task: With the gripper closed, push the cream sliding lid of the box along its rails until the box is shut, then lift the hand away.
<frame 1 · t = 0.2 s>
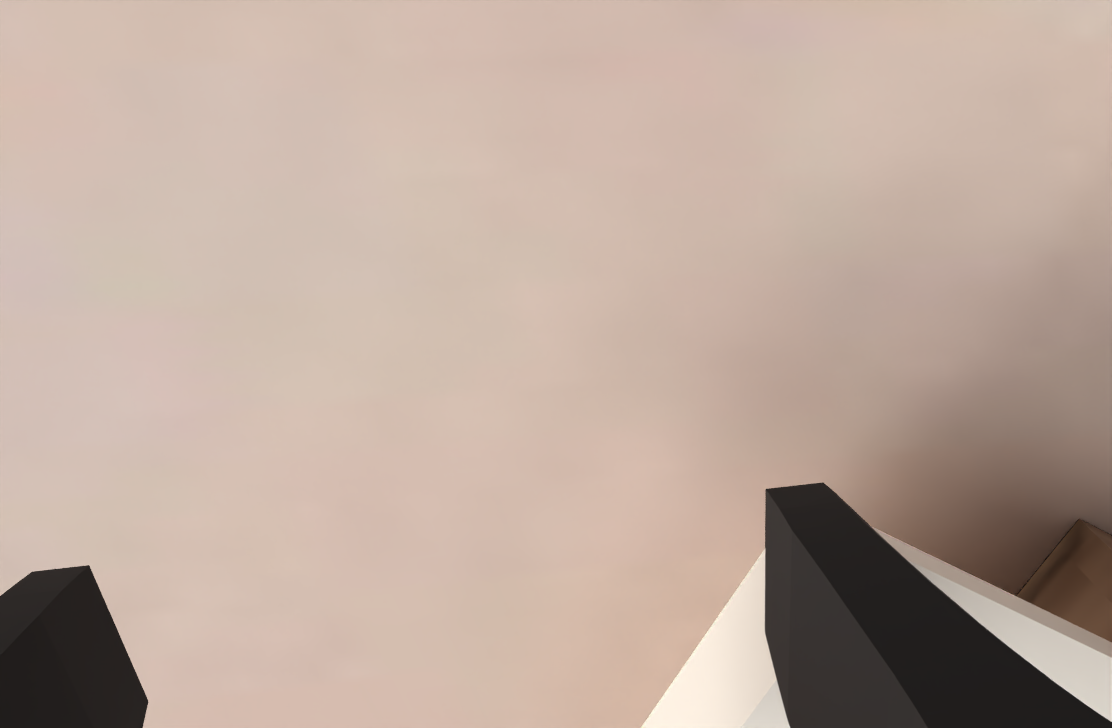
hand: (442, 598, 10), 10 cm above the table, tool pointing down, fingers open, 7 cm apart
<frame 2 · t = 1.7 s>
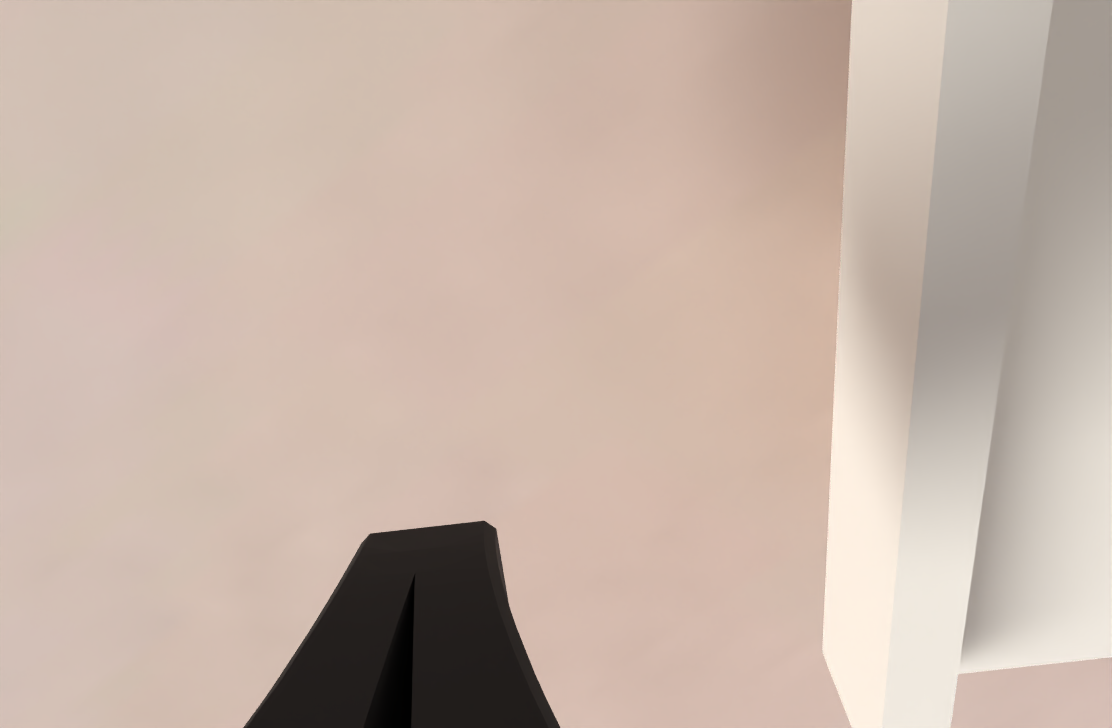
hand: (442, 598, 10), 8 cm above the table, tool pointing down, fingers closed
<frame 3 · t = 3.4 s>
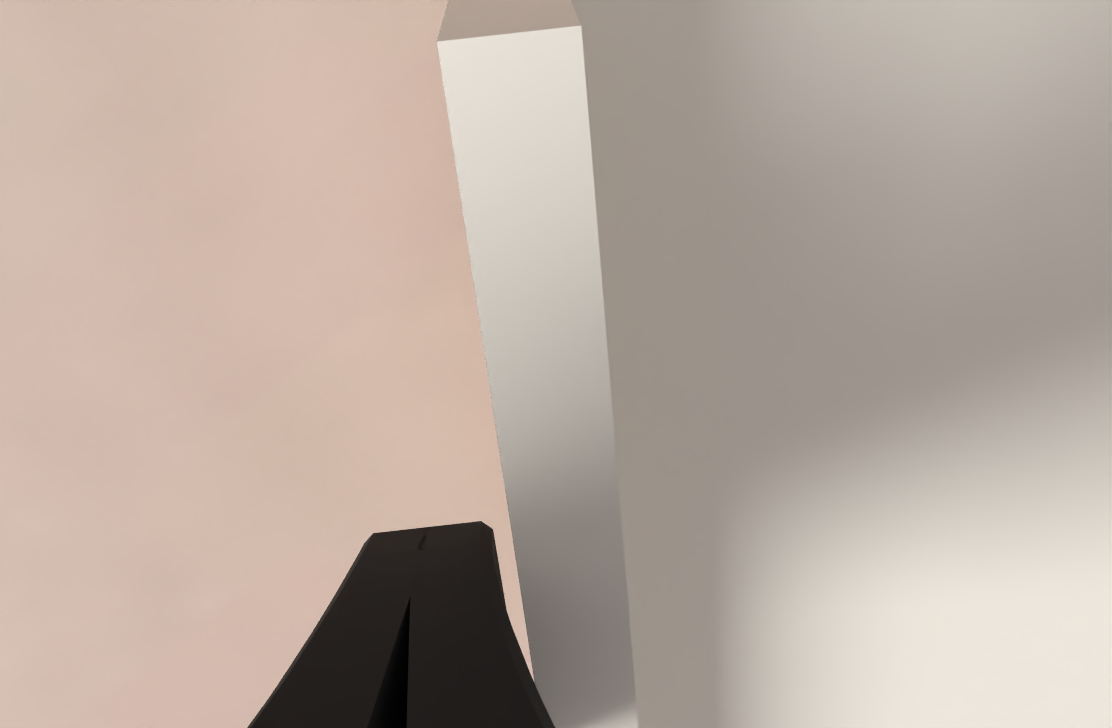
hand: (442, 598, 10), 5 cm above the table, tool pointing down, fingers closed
lid: (1019, 509, 11), point 5 cm above the table, slide at 6.9 cm, touching gripper
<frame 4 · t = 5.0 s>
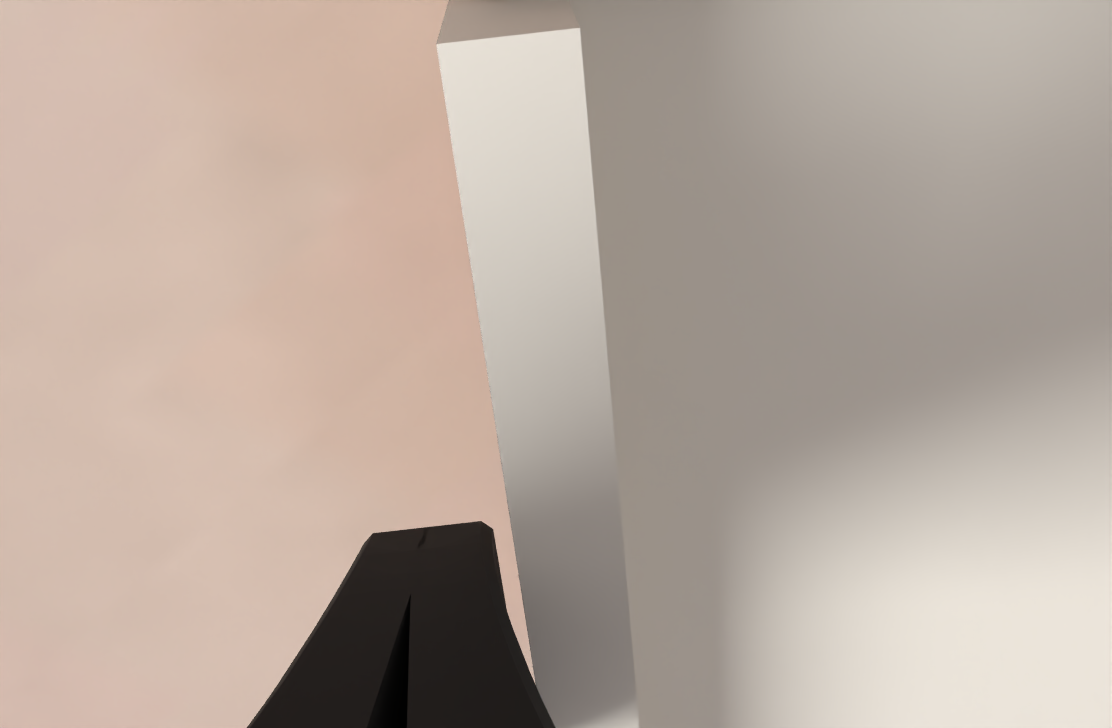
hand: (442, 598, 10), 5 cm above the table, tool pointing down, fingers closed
lid: (1019, 509, 11), point 5 cm above the table, slide at 0.3 cm, touching gripper
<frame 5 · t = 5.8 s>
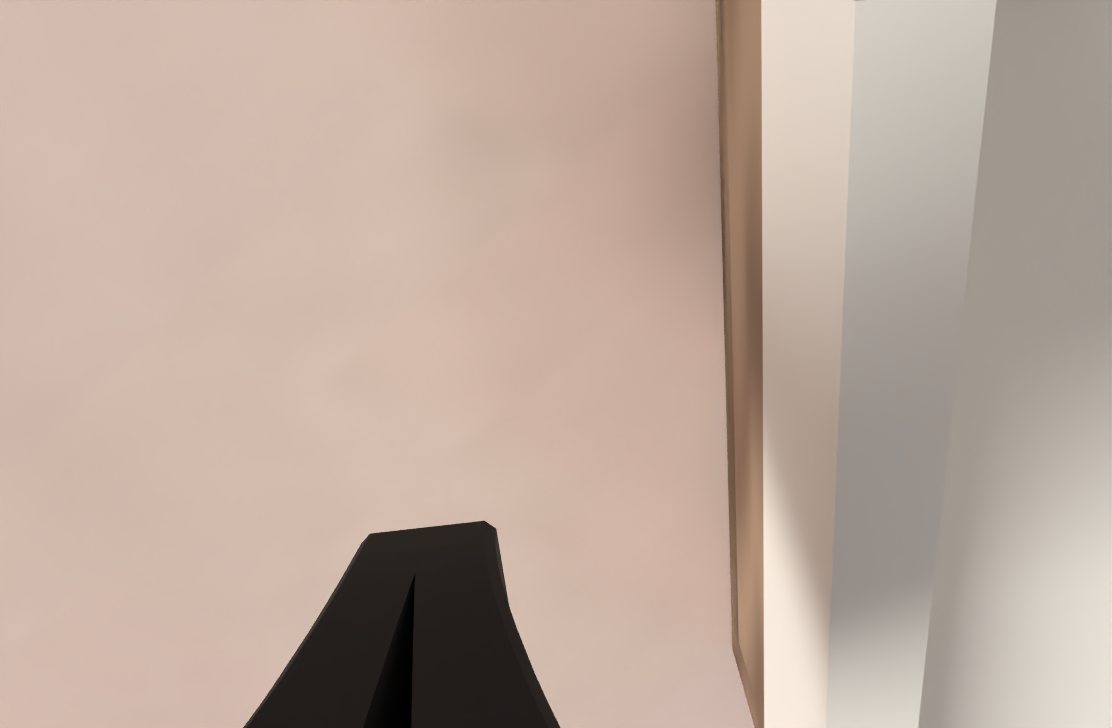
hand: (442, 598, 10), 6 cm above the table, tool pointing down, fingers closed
box: (1102, 282, 15), on the table
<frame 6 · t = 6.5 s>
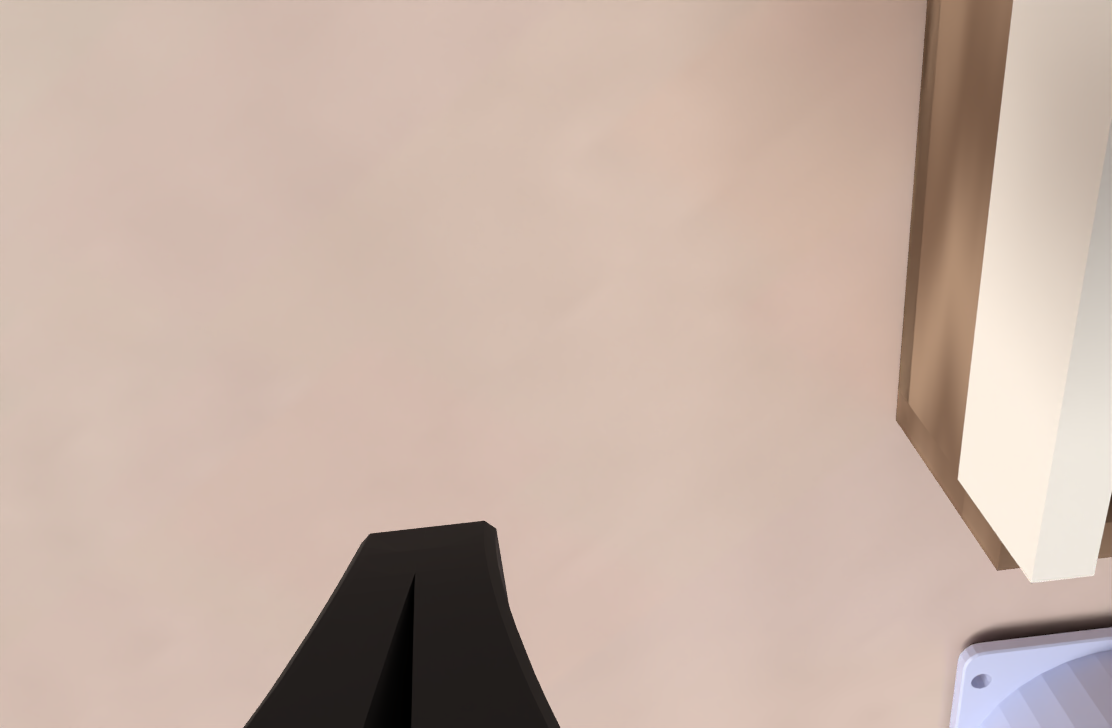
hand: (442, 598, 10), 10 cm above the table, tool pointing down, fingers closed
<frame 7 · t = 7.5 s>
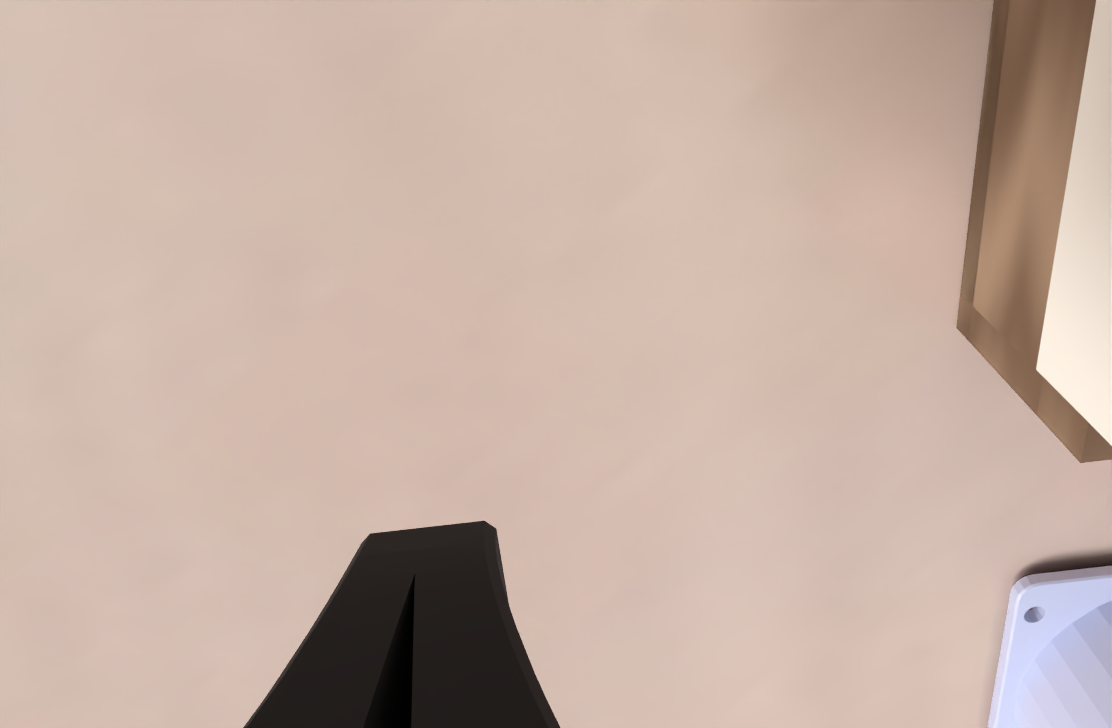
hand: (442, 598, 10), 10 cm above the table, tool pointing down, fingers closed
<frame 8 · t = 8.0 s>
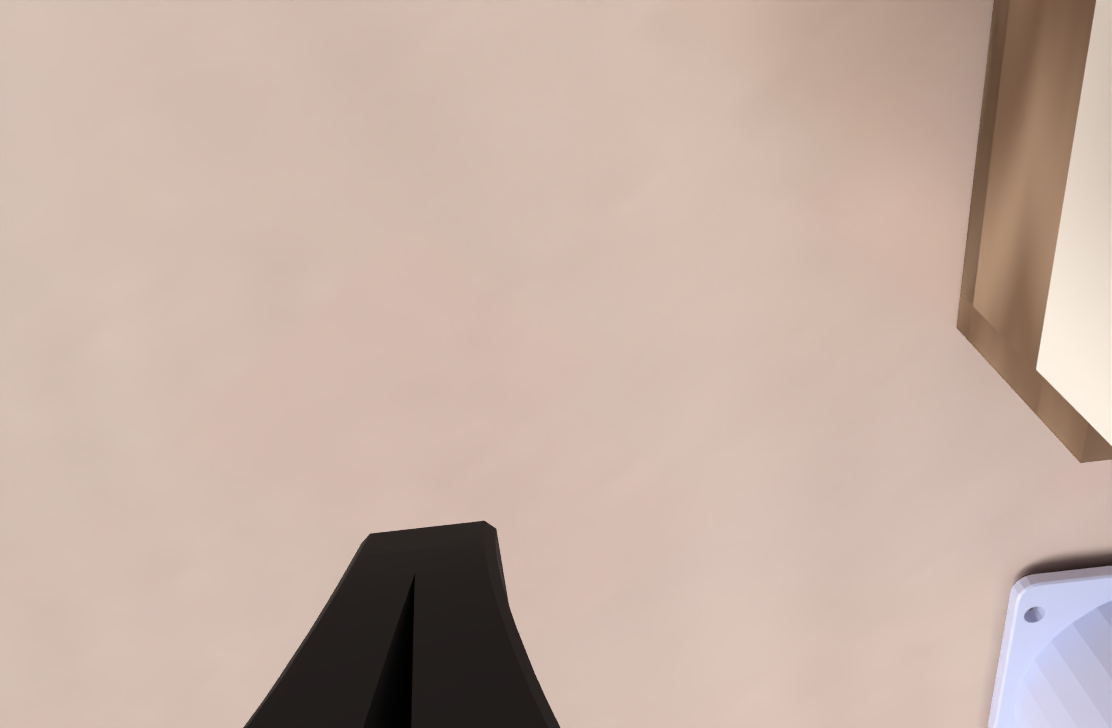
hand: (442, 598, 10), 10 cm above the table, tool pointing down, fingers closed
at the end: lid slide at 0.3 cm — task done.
